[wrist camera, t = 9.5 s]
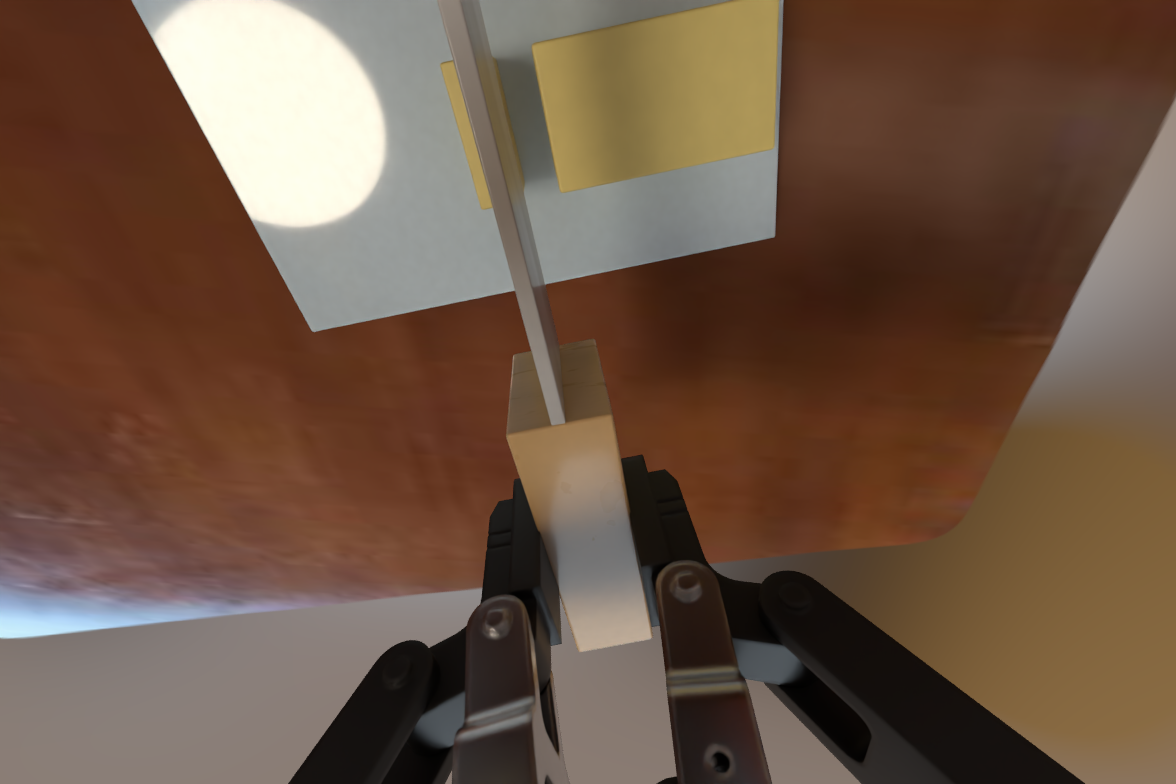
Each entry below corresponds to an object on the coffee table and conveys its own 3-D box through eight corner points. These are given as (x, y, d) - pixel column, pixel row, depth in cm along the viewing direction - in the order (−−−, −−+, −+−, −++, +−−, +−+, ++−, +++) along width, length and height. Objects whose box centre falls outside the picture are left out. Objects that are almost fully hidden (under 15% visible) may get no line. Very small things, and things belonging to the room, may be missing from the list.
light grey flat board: (135, -27, 15) (111, -34, 14) (776, -168, 15) (791, -184, 14) (320, 322, 21) (311, 332, 21) (766, 231, 21) (775, 237, 20)
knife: (632, 541, 17) (653, 639, 14) (571, 552, 17) (578, 653, 14) (502, -153, 8) (481, -308, 5) (372, -124, 8) (270, -260, 5)
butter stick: (531, 49, 16) (530, 43, 13) (739, 4, 16) (781, -11, 13) (556, 177, 18) (560, 194, 16) (740, 139, 18) (775, 149, 15)
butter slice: (455, 65, 16) (438, 62, 13) (495, 57, 16) (488, 52, 13) (489, 191, 18) (481, 210, 16) (525, 184, 18) (523, 202, 16)
